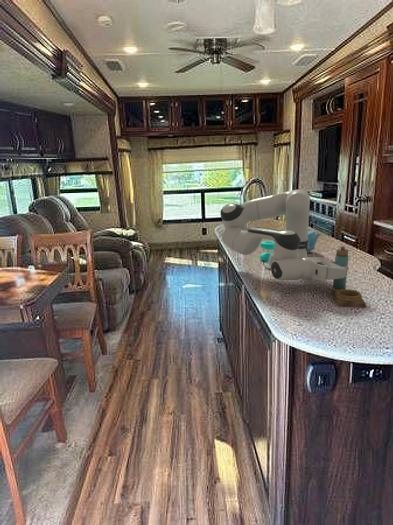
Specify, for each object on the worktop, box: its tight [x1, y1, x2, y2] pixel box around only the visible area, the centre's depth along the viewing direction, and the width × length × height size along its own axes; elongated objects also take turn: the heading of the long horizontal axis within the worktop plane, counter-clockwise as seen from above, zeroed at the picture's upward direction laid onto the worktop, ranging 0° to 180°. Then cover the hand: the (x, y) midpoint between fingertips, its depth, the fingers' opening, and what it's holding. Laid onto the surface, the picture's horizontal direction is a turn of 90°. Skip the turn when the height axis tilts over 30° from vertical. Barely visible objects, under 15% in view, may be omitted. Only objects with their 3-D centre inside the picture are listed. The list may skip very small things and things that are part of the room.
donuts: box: [259, 240, 275, 262], centre depth 195 cm, size 10×10×10 cm
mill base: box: [330, 288, 367, 309], centre depth 135 cm, size 10×15×3 cm, turn 168°
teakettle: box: [307, 227, 324, 254], centre depth 210 cm, size 19×19×15 cm
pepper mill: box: [332, 245, 350, 289], centre depth 145 cm, size 5×5×18 cm
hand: (343, 265), depth 145 cm, fingers closed on pepper mill, 5 cm apart
